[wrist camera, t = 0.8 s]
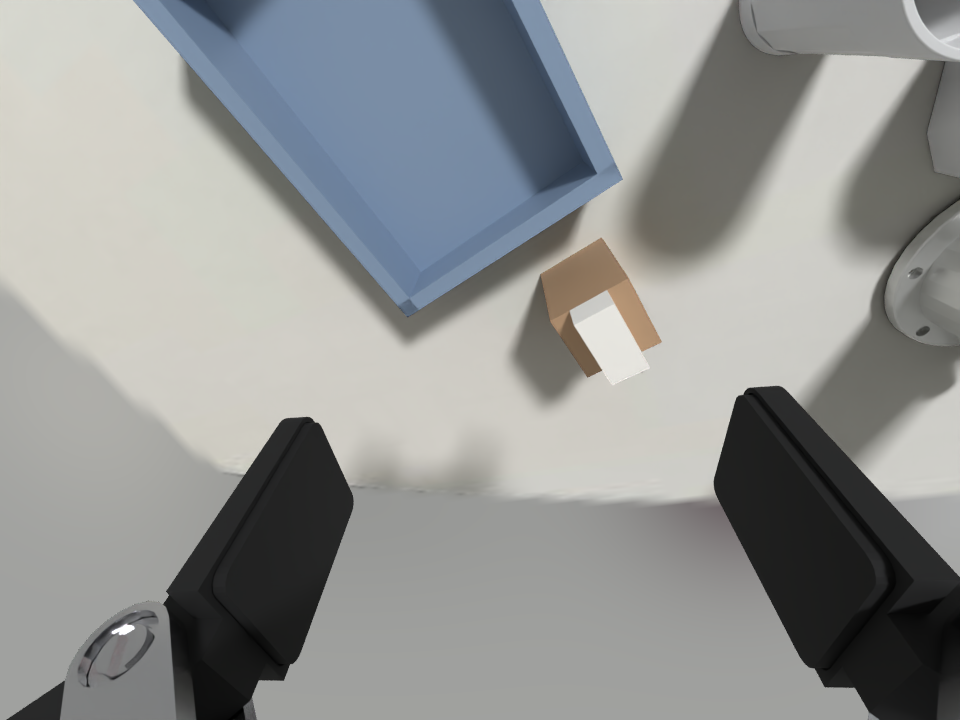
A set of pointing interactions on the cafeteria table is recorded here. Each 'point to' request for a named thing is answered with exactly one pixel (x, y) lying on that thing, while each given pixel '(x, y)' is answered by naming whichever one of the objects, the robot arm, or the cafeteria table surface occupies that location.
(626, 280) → the brown and white block
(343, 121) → the tub
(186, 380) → the cafeteria table surface
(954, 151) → the toilet tissue
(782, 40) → the cup
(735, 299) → the cafeteria table surface
